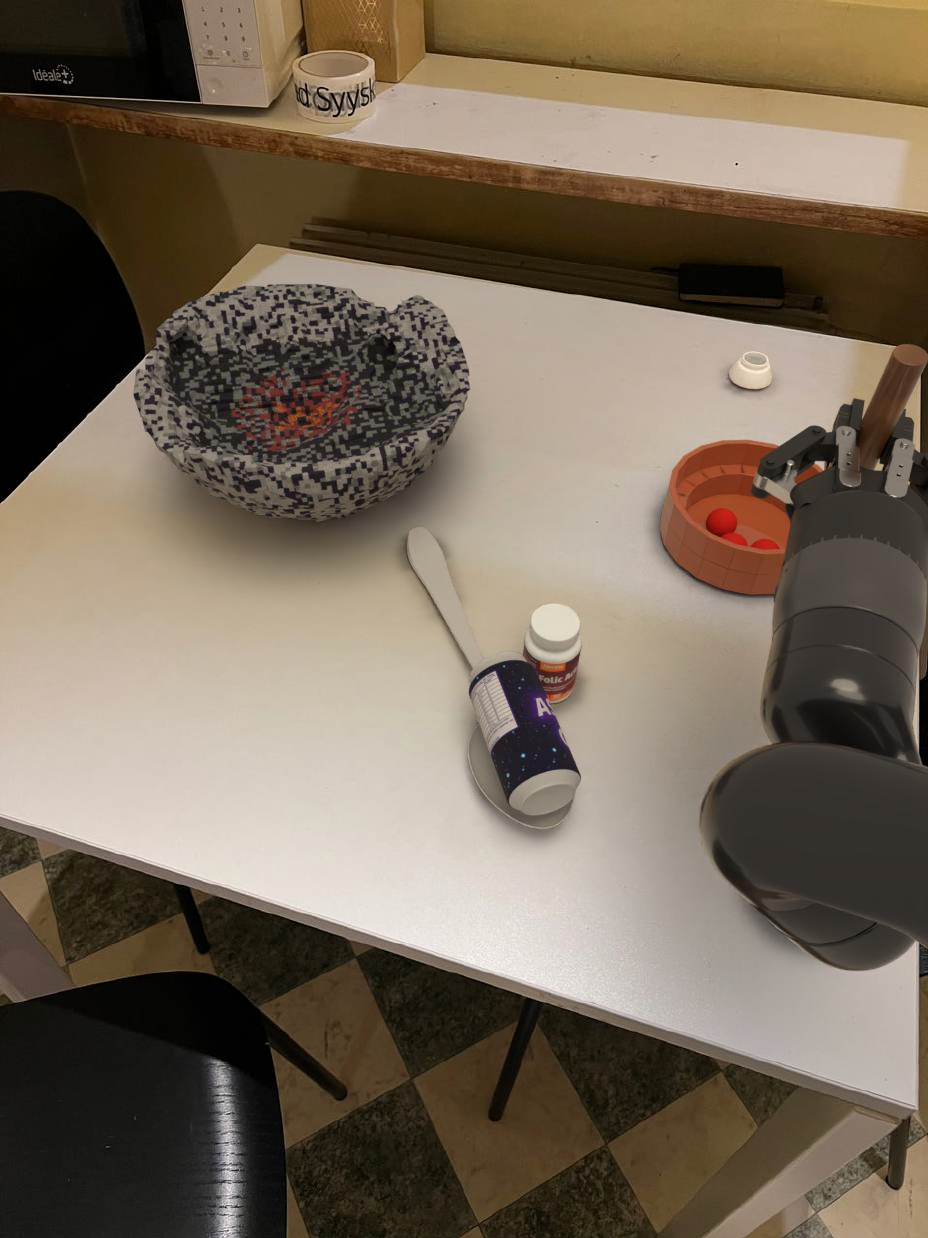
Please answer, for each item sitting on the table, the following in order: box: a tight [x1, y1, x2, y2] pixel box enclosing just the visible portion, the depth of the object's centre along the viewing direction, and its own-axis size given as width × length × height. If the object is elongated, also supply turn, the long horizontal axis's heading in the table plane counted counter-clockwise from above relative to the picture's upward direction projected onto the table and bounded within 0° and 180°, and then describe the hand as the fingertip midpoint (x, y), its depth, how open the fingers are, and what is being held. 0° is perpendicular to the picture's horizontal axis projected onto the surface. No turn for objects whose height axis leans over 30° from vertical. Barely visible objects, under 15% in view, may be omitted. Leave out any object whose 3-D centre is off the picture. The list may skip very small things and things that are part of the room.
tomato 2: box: [750, 539, 780, 550], centre depth 83 cm, size 3×3×3 cm
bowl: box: [133, 283, 471, 523], centre depth 87 cm, size 31×31×15 cm
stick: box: [856, 343, 928, 470], centre depth 59 cm, size 3×2×20 cm, turn 60°
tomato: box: [720, 533, 748, 546], centre depth 83 cm, size 3×3×3 cm
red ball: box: [706, 508, 737, 537], centre depth 86 cm, size 3×3×3 cm
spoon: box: [406, 526, 576, 830], centre depth 76 cm, size 35×8×3 cm, turn 19°
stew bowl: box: [658, 439, 824, 596], centre depth 85 cm, size 16×16×6 cm
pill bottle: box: [522, 602, 583, 704], centre depth 72 cm, size 5×5×8 cm
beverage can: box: [468, 651, 582, 815], centre depth 66 cm, size 6×6×12 cm
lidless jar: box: [728, 350, 774, 390], centre depth 103 cm, size 5×3×5 cm
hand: (873, 414), depth 58 cm, fingers closed on stick, 2 cm apart
